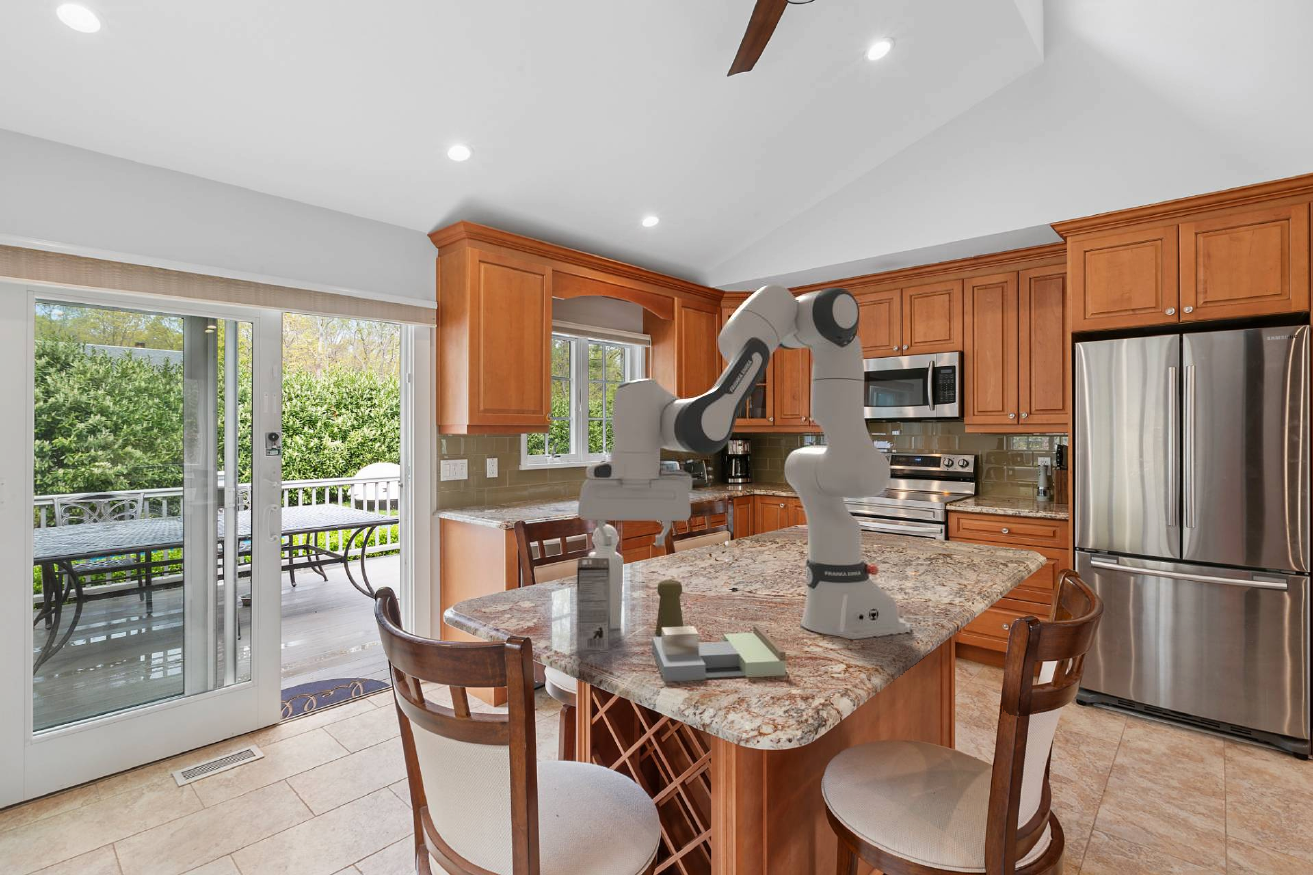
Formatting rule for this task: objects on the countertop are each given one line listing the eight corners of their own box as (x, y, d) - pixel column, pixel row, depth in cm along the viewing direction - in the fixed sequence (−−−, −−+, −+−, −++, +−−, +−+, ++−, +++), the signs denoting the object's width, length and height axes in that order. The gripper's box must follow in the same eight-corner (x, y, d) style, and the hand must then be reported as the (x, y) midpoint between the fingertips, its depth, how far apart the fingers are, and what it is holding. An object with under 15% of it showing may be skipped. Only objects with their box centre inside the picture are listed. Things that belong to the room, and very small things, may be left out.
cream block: (693, 645, 118) (693, 626, 118) (698, 653, 114) (698, 633, 114) (661, 646, 117) (661, 627, 117) (665, 654, 113) (665, 634, 113)
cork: (681, 638, 130) (681, 584, 130) (652, 636, 131) (652, 583, 131) (686, 629, 136) (686, 578, 136) (658, 628, 137) (658, 576, 137)
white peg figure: (623, 628, 136) (623, 525, 136) (593, 631, 134) (593, 526, 134) (616, 620, 143) (616, 521, 143) (587, 623, 141) (587, 523, 141)
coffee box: (578, 636, 132) (578, 557, 132) (609, 635, 132) (609, 557, 132) (576, 650, 122) (576, 566, 122) (609, 649, 123) (609, 565, 123)
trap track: (758, 645, 126) (758, 624, 126) (785, 675, 110) (785, 651, 110) (652, 650, 123) (652, 629, 123) (664, 681, 107) (664, 657, 107)
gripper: (689, 468, 119) (688, 543, 119) (579, 467, 117) (577, 542, 117) (695, 470, 113) (693, 548, 113) (578, 468, 111) (576, 548, 111)
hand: (633, 545), depth 115 cm, fingers open, 8 cm apart
